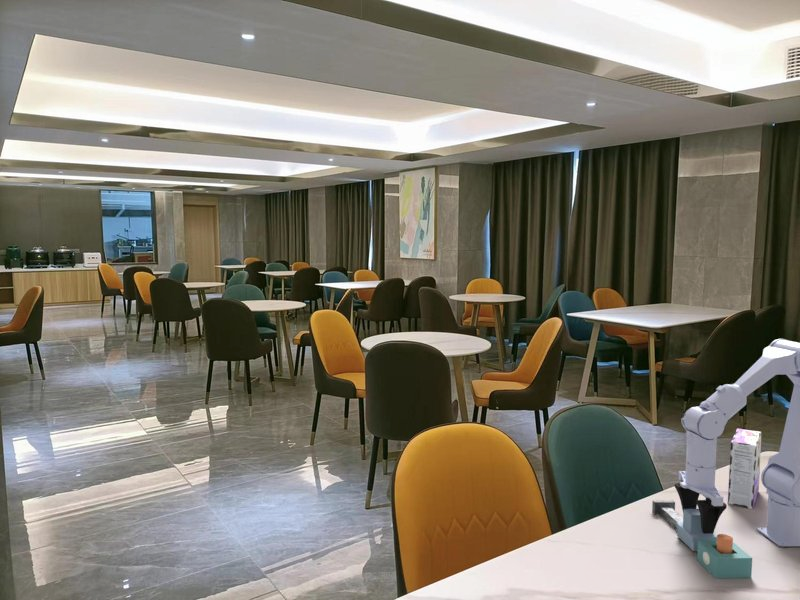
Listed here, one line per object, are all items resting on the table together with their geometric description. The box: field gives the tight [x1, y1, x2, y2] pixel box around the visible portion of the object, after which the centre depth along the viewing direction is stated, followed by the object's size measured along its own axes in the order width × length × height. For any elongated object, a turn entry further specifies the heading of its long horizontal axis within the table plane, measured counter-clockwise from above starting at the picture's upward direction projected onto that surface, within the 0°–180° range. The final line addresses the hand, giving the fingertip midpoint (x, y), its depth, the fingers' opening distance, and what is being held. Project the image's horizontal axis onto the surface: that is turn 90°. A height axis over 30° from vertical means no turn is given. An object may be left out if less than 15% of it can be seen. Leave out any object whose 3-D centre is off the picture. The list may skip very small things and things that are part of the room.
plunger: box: [716, 533, 734, 554], centre depth 121 cm, size 3×3×4 cm
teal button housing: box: [696, 541, 753, 579], centre depth 121 cm, size 7×7×4 cm
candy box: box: [727, 428, 762, 510], centre depth 155 cm, size 14×6×16 cm, turn 144°
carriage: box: [676, 508, 718, 552], centre depth 131 cm, size 6×7×7 cm
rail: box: [651, 499, 683, 531], centre depth 136 cm, size 5×21×3 cm, turn 2°
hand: (698, 524), depth 130 cm, fingers open, 7 cm apart
